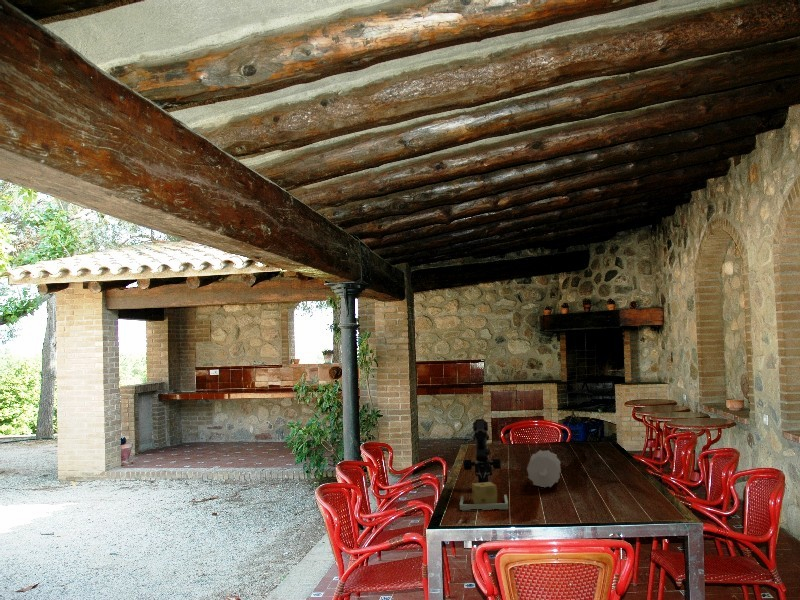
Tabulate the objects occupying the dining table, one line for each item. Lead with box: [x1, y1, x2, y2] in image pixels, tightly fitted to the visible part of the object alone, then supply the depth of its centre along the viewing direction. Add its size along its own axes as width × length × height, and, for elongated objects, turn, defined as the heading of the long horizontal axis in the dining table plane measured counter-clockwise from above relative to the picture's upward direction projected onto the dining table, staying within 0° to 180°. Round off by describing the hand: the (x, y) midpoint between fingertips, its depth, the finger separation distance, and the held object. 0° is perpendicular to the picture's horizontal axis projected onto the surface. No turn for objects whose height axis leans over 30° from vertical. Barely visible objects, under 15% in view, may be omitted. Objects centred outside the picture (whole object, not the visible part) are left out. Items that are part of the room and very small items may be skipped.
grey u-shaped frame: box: [459, 494, 509, 511], centre depth 338 cm, size 19×22×2 cm
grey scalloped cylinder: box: [526, 449, 562, 488], centre depth 377 cm, size 18×18×25 cm
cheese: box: [471, 481, 498, 504], centre depth 339 cm, size 10×11×10 cm
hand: (482, 478), depth 354 cm, fingers closed
